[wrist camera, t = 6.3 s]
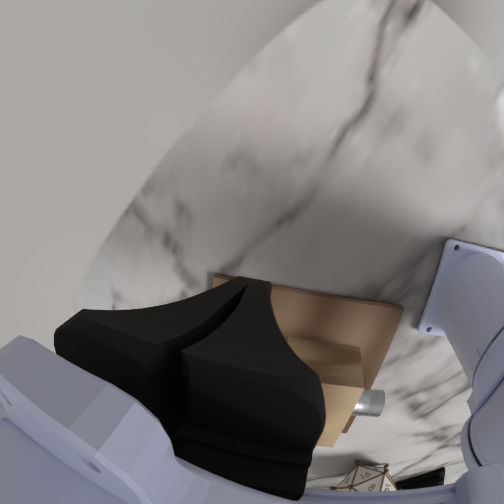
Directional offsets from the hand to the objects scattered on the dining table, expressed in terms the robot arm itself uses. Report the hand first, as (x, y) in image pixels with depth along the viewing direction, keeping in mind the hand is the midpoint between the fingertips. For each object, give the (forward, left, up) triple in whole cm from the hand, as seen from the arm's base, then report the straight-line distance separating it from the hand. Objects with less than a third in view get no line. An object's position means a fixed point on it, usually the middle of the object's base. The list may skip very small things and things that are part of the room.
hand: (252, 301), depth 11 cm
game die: (-16, +29, -10) cm, 35 cm away
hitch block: (-2, +12, -10) cm, 16 cm away
